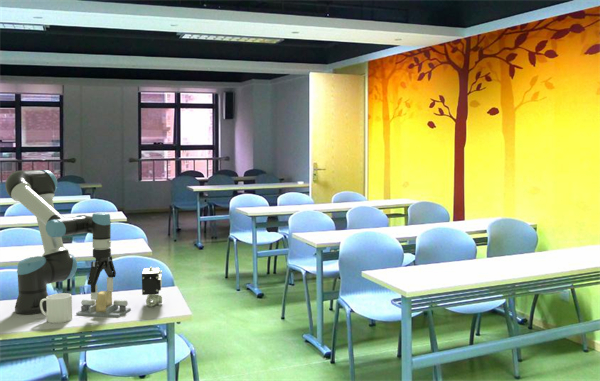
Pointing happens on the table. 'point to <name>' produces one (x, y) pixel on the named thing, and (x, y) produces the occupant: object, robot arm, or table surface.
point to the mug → (58, 308)
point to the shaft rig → (111, 311)
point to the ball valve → (152, 285)
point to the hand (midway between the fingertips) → (102, 295)
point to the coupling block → (103, 301)
